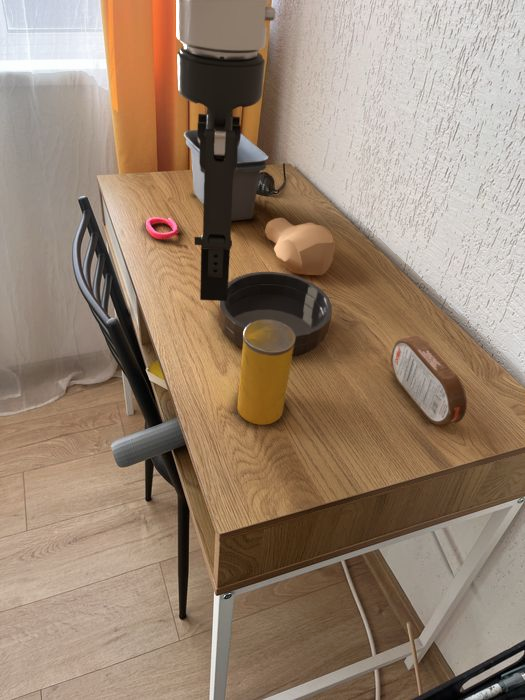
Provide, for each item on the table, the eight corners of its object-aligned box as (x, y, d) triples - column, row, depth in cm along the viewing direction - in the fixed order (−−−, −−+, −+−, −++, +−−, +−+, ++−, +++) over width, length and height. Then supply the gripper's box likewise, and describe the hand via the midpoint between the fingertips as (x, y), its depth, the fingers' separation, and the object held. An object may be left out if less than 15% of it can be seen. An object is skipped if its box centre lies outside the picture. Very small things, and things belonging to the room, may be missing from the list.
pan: (208, 350, 82) (209, 327, 79) (227, 286, 96) (228, 265, 94) (326, 367, 82) (331, 344, 79) (327, 300, 96) (332, 279, 93)
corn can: (233, 421, 71) (240, 347, 63) (240, 388, 76) (247, 316, 68) (281, 428, 71) (293, 355, 63) (284, 394, 76) (296, 323, 68)
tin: (456, 434, 73) (478, 391, 68) (438, 439, 72) (458, 396, 67) (399, 365, 84) (414, 323, 78) (382, 368, 83) (396, 326, 77)
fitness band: (182, 237, 109) (182, 230, 108) (155, 241, 107) (155, 235, 106) (168, 220, 114) (168, 214, 113) (142, 224, 112) (142, 217, 111)
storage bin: (179, 190, 127) (179, 129, 118) (238, 184, 133) (242, 126, 124) (210, 230, 112) (213, 164, 103) (275, 222, 118) (283, 159, 109)
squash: (298, 290, 98) (294, 247, 93) (251, 251, 113) (246, 212, 107) (347, 272, 101) (345, 229, 96) (295, 236, 116) (292, 197, 111)
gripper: (277, 91, 36) (253, 334, 50) (256, 27, 55) (243, 215, 69) (166, 82, 35) (172, 331, 49) (184, 20, 54) (185, 212, 68)
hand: (214, 264), depth 59 cm, fingers open, 13 cm apart
